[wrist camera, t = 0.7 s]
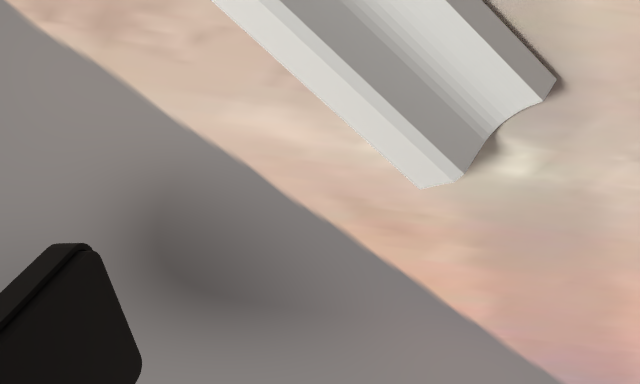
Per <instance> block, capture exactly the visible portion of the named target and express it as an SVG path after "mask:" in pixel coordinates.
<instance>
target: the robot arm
mask: <svg viewBox="0 0 640 384" xmlns="http://www.w3.org/2000/svg"><path fill="white" fill-rule="evenodd" d="M141 368H142V359H141V355H140V353H139V350H138V348H137V345H136V343H135V340H134V338H133V335H132V333H131V331H130V328H129V326H128V323H127V321H126V318H125V316H124V313H123V311H122V309H121V306H120V303H119V301H118V298H117V296H116V294H115V291H114V289H113V286H112V284H111V281H110V279H109V276H108V274H107V271H106V269H105V266H104V264H103V262H102V259H101V257H100V255H99V254H98V253H97V252H95V251H93V250H92V248H91V247H90V246H88V245H87V244H84V243H62V244H60V243H59V244H53V245H51V246H50V247H48V248H47V249H46V250H45V251H44V252H43V253H42V254H41V255H40V256H39V257H37V258H36V259H35V260H34V261H33V262H32V263H31V264H30V265H29V266H28V267H27V268H26V269H25V270H24V271H23V272H22V273H21V274H20V275H19V276H18V277H16V278H15V279H14V280H13V281H12V282H11V283H10V284H9V285H8V286H7V287H6V288H5V289H4V290H3V291H2V292H1V293H0V384H135V383H136V381H137V379H138V377H139V375H140V372H141Z"/></svg>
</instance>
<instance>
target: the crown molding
mask: <svg viewBox="0 0 640 384" xmlns="http://www.w3.org/2000/svg"><path fill="white" fill-rule="evenodd" d="M211 1H212V2H213V3H214V4H216V5H217V6H218V7H219V8H220V9H221V10H222V11H223V12H224V13H226V14H227V15H228V16H229V17H230V18H231V19H232V20H233V21H234V22H235V23H237V24H238V25H239V26H240V27H241V28H242V29H243V30H244V31H245V32H246V33H248V34H249V35H250V36H251V37H252V38H253V39H254V40H255V41H256V42H257V43H259V44H260V45H261V46H262V47H263V48H264V49H265V50H266V51H267V52H268V53H270V54H271V55H272V56H273V57H274V58H275V59H276V60H277V61H278V62H280V63H281V64H282V65H283V66H284V67H285V68H286V69H287V70H288V71H289V72H291V73H292V74H293V75H294V76H295V77H296V78H297V79H298V80H299V81H300V82H302V83H303V84H304V85H305V86H306V87H307V88H308V89H309V90H310V91H311V92H313V93H314V94H315V95H316V96H317V97H318V98H319V99H320V100H321V101H323V102H324V103H325V104H326V105H327V106H328V107H329V108H330V109H331V110H332V111H334V112H335V113H336V114H337V115H338V116H339V117H340V118H341V119H342V120H343V121H345V122H346V123H347V124H348V125H349V126H350V127H351V128H352V129H353V130H354V131H356V132H357V133H358V134H359V135H360V136H361V137H362V138H363V139H364V140H365V141H367V142H368V143H369V144H370V145H371V146H372V147H373V148H374V149H375V150H377V151H378V152H379V153H380V154H381V155H382V156H383V157H384V158H385V159H386V160H388V161H389V162H390V163H391V164H392V165H393V166H394V167H395V168H396V169H397V170H399V171H400V172H401V173H402V174H403V175H404V176H405V177H406V178H407V179H408V180H410V181H411V182H412V183H413V184H414V185H415V186H416V187H417V188H418V189H424V188H428V187H433V186H438V185H443V184H448V183H453V182H455V181H456V180H458V179H459V178H460V177H461V176H462V175H464V174H465V172H466V171H467V169H468V167H469V166H470V164H471V163H472V161H473V160H474V158H475V157H476V155H477V154H478V152H479V150H480V149H481V147H482V146H483V144H484V143H485V141H486V140H487V139H488V137H489V136H490V135H491V134H492V133H493V131H494V130H495V129H496V128H497V127H498V126H499V125H501V124H502V123H503V122H504V121H505V120H507V119H508V118H510V117H511V116H512V115H514V114H516V113H517V112H519V111H521V110H523V109H525V108H527V107H529V106H531V105H534V104H537V103H540V102H543V101H544V99H545V98H546V96H547V95H548V93H549V91H550V90H551V88H552V87H553V85H554V83H555V82H556V80H557V79H556V78H555V77H554V76H553V75H552V74H551V73H550V72H549V71H548V70H547V68H546V67H545V66H544V65H543V64H542V63H541V62H540V61H539V60H538V59H537V58H536V57H535V56H534V55H533V54H532V53H531V52H530V51H529V50H528V48H527V47H526V46H525V45H524V44H523V43H522V42H521V41H520V40H519V39H518V38H517V37H516V36H515V35H514V34H513V33H512V32H511V31H510V29H509V28H508V27H507V26H506V25H505V24H504V23H503V22H502V21H501V20H500V19H499V18H498V17H497V16H496V15H495V14H494V13H493V12H492V11H491V9H490V8H489V7H488V6H487V5H486V4H485V3H484V2H483V1H482V0H211Z"/></svg>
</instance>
